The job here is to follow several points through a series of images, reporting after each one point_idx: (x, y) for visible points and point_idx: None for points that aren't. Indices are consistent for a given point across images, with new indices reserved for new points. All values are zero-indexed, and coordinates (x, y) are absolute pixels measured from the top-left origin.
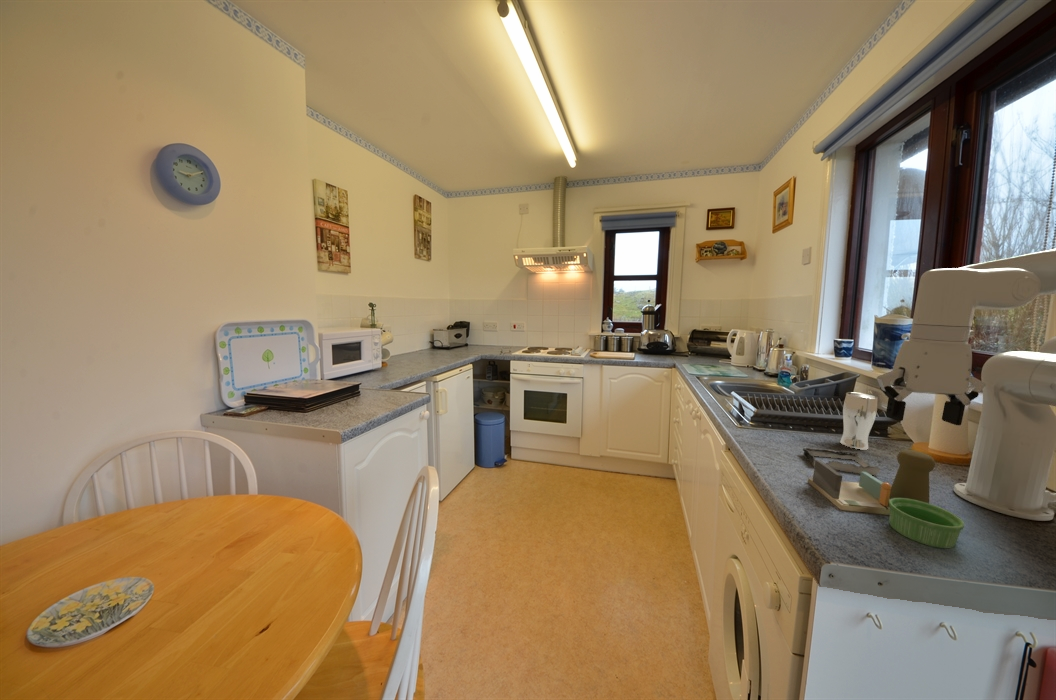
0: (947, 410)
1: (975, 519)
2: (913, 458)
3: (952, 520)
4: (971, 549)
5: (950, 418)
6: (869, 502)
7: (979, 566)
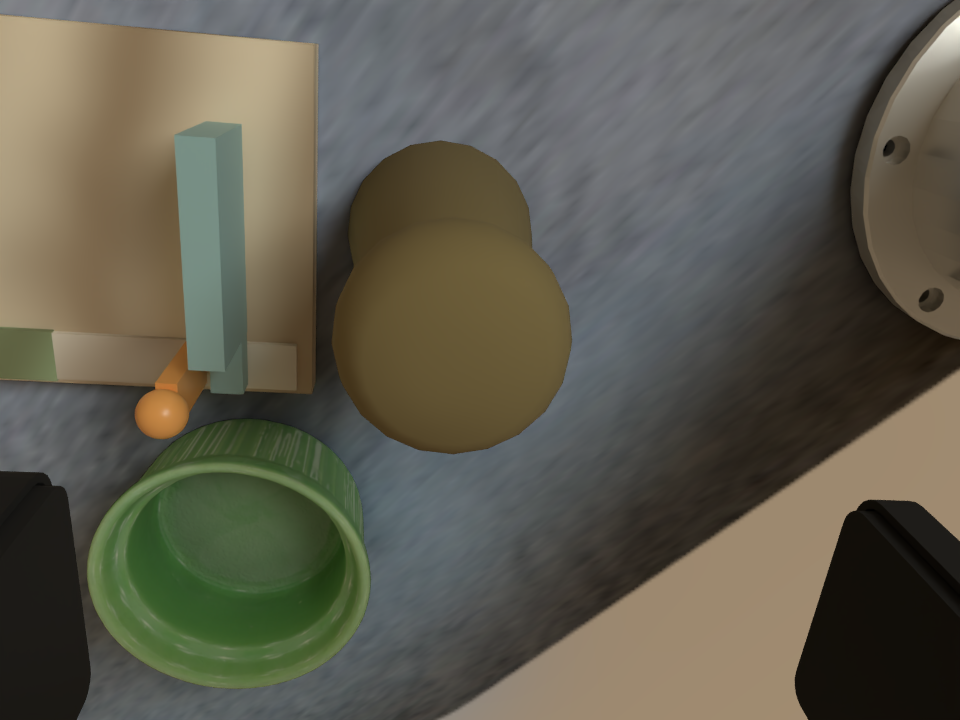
0: (940, 700)
1: (667, 353)
2: (367, 419)
3: (350, 584)
4: (382, 582)
5: (851, 660)
6: (147, 322)
7: None
